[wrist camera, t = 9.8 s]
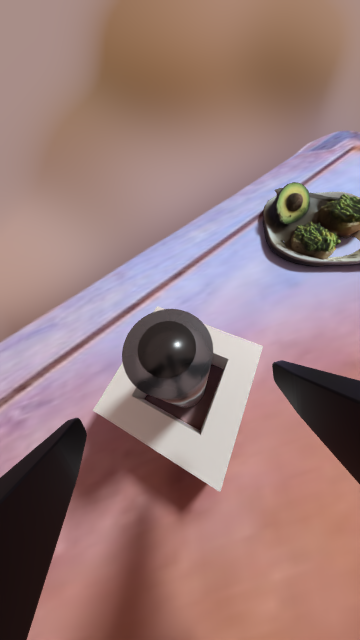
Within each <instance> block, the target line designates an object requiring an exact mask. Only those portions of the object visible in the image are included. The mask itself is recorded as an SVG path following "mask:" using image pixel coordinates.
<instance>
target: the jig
mask: <svg viewBox="0 0 360 640" xmlns="http://www.w3.org/2000/svg"><path fill="white" fill-rule="evenodd" d="M159 310H164V309H163V308H160V307H156V309H155V311H154V312H156V311H159ZM204 325H205V324H204ZM205 326H206V328H207V329H208V331H209V333H210V335H211V338H212V342H213V359H212V363H211V364H213V365H215V366H217V367H219V368H222V369H223V371H222V374H221V377H220V380H219V382H218V385H217V388H216V390H215V393H214V396H213V398H212V401H211V404H210V407H209V409H208V412H207V415H206V417H205V420H204V423H203V426H202V428H201V431H200V430H198V429H196V428H194V427H193V426H191V425H189V424H187V423H186V422H184V421H182V420H180V419H178V418H177V417H175V416H173V415H171V414H169V413H168V412H166V411H164V410H162V409H160V408H159V407H157V406H155V405H153V404H152V403H150V402H148V401H146V400H144V399H145V397H146V395H147V394H146V393H144V392H142V391H140V390H139V389H138V388H136V387H135V386H134V385H133V384H132V382H131V381H130V380H129V378H128V376H127V375H126V373H125V370H124V366H123V363H122V364H121V366H120V367H119V369H118V371H117V372H116V374H115V376H114V377H113V379H112V380H111V382H110V384H109V385H108V387H107V389H106V390H105V392H104V393H103V395H102V397H101V398H100V400H99V402H98V403H97V405H96V406H95V408H94V410H93V411H95V412H96V413H98V414H99V415H101V416H102V417H104V418H105V419H107V420H109V421H110V422H112V423H113V424H115V425H116V426H118V427H119V428H121V429H123V430H124V431H126V432H127V433H129V434H130V435H132V436H134V437H135V438H137V439H138V440H140V441H141V442H143V443H144V444H146V445H148V446H149V447H151V448H152V449H154V450H155V451H157V452H158V453H160V454H162V455H163V456H165V457H166V458H168V459H169V460H171V461H172V462H174V463H176V464H177V465H179V466H180V467H182V468H183V469H185V470H186V471H188V472H190V473H191V474H193V475H194V476H196V477H197V478H199V479H201V480H202V481H204V482H205V483H207V484H208V485H210V486H211V487H213V488H215V489H216V490H218V491H219V492H220V491H221V488H222V484H223V481H224V478H225V474H226V471H227V467H228V464H229V460H230V457H231V454H232V450H233V447H234V443H235V440H236V436H237V433H238V430H239V426H240V423H241V419H242V416H243V413H244V409H245V406H246V402H247V399H248V395H249V392H250V389H251V385H252V382H253V378H254V375H255V372H256V368H257V365H258V361H259V358H260V354H261V351H262V348H263V346H261V345H258V344H256V343H253V342H250V341H248V340H245V339H242V338H240V337H237V336H234V335H232V334H229V333H227V332H224V331H221V330H219V329H216V328H213V327H211V326H208V325H205Z"/></svg>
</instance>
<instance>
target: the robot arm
mask: <svg viewBox="0 0 360 640" xmlns="http://www.w3.org/2000/svg"><path fill="white" fill-rule="evenodd" d="M272 368H273V377H274V381H275V383H276V384H277V386H278V387H279V388H280V390H281V391H282V392H283V394H284V395H285V397H286V398H287V399H288V401H289V402H290V404H291V405H292V406H293V408H294V409H295V410H296V412H297V413H298V414H299V415H300V417H301V418H302V419H303V420H304V421H305V422H306V424H307V425H308V426H309V427H310V428H311V429H312V430H313V432H314V433H315V434H316V435H317V436H318V437H319V438H320V440H321V441H322V442H323V443H324V444H325V445H326V446H327V448H328V449H329V450H330V451H331V452H332V453H333V454H334V456H335V457H336V458H337V459H338V460H339V461H340V462H341V464H342V465H343V466H344V467H345V468H346V469H347V470H348V472H349V473H350V474H351V475H352V476H353V477H354V478H355V480H356V481H357V482H358V483H359V484H360V381H359V380H355V379H351V378H347V377H344V376H340V375H336V374H332V373H328V372H324V371H321V370H317V369H313V368H309V367H305V366H301V365H298V364H294V363H290V362H286V361H277V362H274V363H273V364H272ZM86 437H87V433H86V430H85V428H84V426H83V424H82V422H81V420H80V419H79V418H74V419H70V420H68V421H67V422H65V423H64V424H63V425H62V426H61V427H59V428H58V429H57V430H56V431H55V432H54V433H52V434H51V435H50V436H49V437H48V438H47V439H45V440H44V441H43V442H42V443H41V444H39V445H38V446H37V447H36V448H35V449H34V450H32V451H31V452H30V453H29V454H28V455H27V456H25V457H24V458H23V459H22V460H21V461H20V462H18V463H17V464H16V465H15V466H14V467H12V468H11V469H10V470H9V471H8V472H7V473H5V474H4V475H3V476H2V477H1V478H0V640H27V637H28V633H29V630H30V627H31V624H32V621H33V618H34V614H35V611H36V608H37V605H38V602H39V598H40V595H41V592H42V589H43V586H44V583H45V579H46V576H47V573H48V570H49V567H50V563H51V560H52V557H53V554H54V551H55V548H56V544H57V541H58V538H59V535H60V532H61V528H62V525H63V522H64V519H65V516H66V513H67V509H68V506H69V503H70V500H71V497H72V493H73V490H74V487H75V484H76V480H77V477H78V473H79V469H80V464H81V460H82V455H83V451H84V446H85V442H86Z"/></svg>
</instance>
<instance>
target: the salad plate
mask: <svg viewBox="0 0 360 640" xmlns="http://www.w3.org/2000/svg"><path fill="white" fill-rule="evenodd" d="M275 191H276V193H277V196H275V197H273V198H272V199H270V200H269V201H268V202H267V204H266V205H265V207H264V211H263V225H264V230H265V237H266V241H267V243H268V245H269V247H270V248H271V249H272V250H273V251H274V252H275V253H276V254H277V255H278V256H280V257H281V258H283V259H285V260H288V261H290V262H294V263H298V264H304V265H310V266H324V265H343V264H346V265H348V264H357V263H360V249H359V250H358V251H356V252H354V253H353V254H350V255H346V256H343V257H332V258H328V257H329V256H330V255H332V253H333V252H334V251H335V249H336V247H335V246H336V245H337V244H339V243H340V242H341V240H337V239H339V238H341V237H343V238H348V237H351V236H354V237H356V238H357V239H358V240H359V241H360V197H357V196H355V195H352V194H349V193H345V192H325V193H309V192H308V190H307V189H306V187H305V186H304V185H302V184H300V183H296V182H293V183H290V184H287V185H286V186H285V187H284V188H279V189H276V190H275ZM283 241H284V242H283Z"/></svg>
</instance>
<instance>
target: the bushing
mask: <svg viewBox="0 0 360 640" xmlns="http://www.w3.org/2000/svg"><path fill="white" fill-rule="evenodd" d="M212 359H213V342H212V338H211V335H210V333H209V331H208V329H207V328H206V326H205V325H204V324H203V323H202V321H200V320H199V319H198V318H197V317H195V316H194V315H192V314H190V313H188V312H185V311H182V310H177V309H164V310H159V311H156V312H153V313H151V314H148V315H147V316H145V317H143V318H142V319H141V320H139V321H138V322H137V323H136V324H135V325H134V326H133V328H132V329H131V330H130V332H129V333H128V335H127V337H126V340H125V342H124V346H123V352H122V361H123V366H124V370H125V373H126V375H127V376H128V378H129V380H130V381H131V382H132V384H133V385H134V386H135V387H136V388H138V389H139V390H140V391H142V392H144V393H146V394H148V395H151V396H153V397H156V398H158V399H161V400H163V401H166V402H168V403H171V404H173V405H176V406H179V407H184V408H186V407H191V406H194V405H195V404H197V403H198V402H199V401H200V400H201V398H202V397H203V395H204V392H205V388H206V384H207V380H208V375H209V371H210V367H211V363H212Z"/></svg>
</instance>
